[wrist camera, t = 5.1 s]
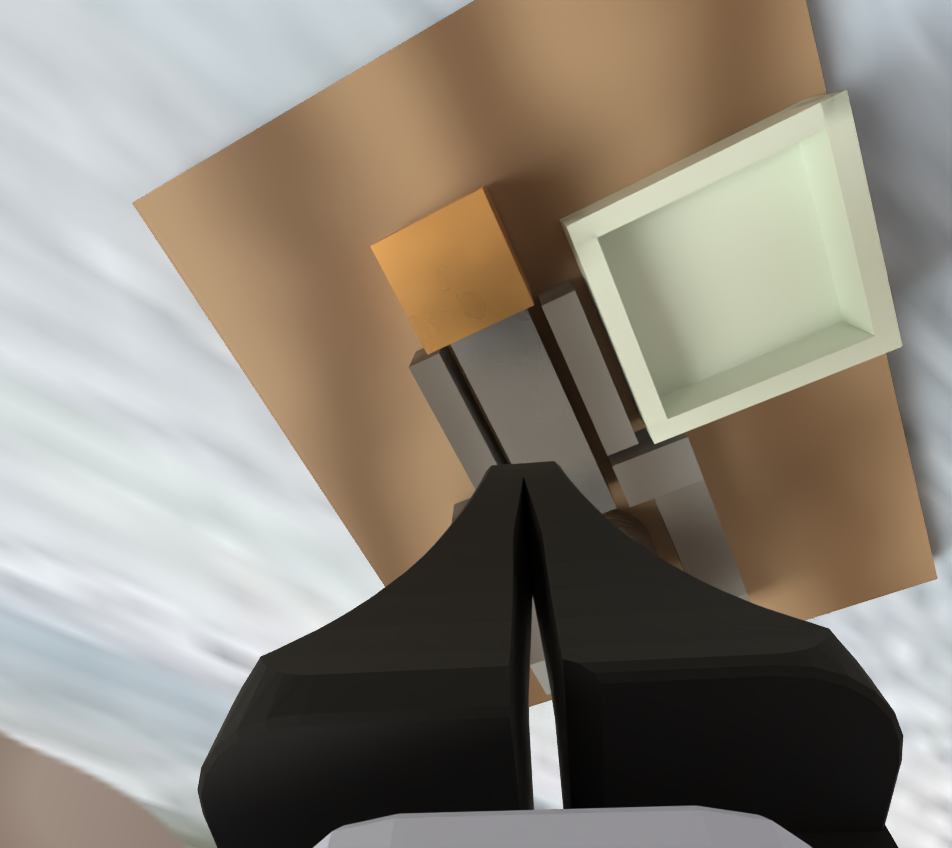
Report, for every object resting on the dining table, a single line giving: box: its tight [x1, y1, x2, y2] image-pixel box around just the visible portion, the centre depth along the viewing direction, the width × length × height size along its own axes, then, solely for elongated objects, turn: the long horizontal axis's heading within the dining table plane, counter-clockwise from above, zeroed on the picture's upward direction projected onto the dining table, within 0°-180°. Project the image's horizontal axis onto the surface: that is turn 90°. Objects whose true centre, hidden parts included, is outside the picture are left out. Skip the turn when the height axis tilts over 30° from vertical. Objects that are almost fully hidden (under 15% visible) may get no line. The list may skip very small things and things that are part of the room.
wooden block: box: [370, 185, 617, 513], centre depth 17 cm, size 3×10×3 cm, turn 26°
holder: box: [133, 0, 937, 707], centre depth 19 cm, size 18×23×3 cm
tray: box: [560, 90, 903, 444], centre depth 17 cm, size 7×7×2 cm
